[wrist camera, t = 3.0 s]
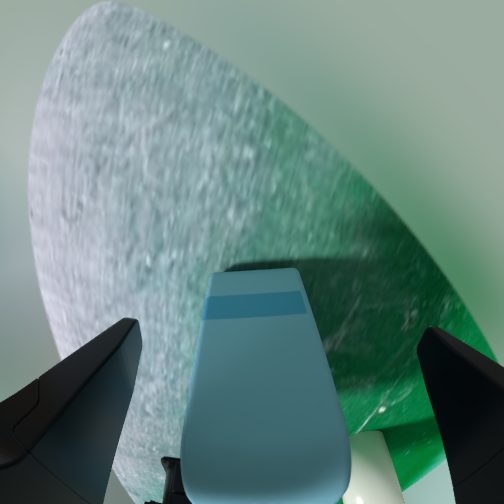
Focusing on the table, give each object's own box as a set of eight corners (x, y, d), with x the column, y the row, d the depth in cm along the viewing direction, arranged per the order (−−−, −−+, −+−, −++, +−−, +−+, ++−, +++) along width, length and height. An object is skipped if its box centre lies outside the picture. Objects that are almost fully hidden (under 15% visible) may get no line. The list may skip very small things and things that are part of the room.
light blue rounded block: (211, 261, 16) (172, 488, 5) (295, 256, 16) (362, 476, 5) (233, 397, 21) (231, 540, 10) (290, 393, 21) (310, 535, 10)
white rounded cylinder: (371, 450, 27) (389, 515, 18) (326, 457, 27) (339, 528, 18) (391, 426, 25) (416, 499, 16) (342, 434, 25) (361, 516, 16)
